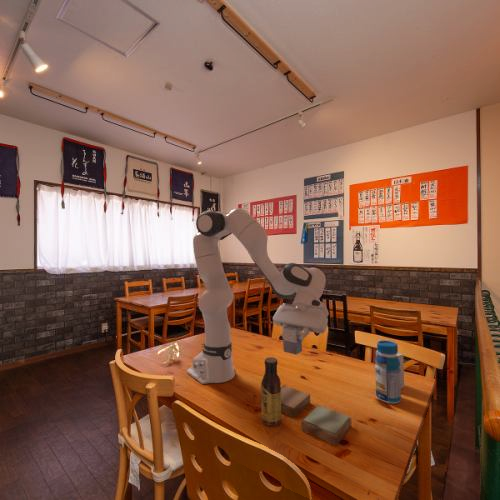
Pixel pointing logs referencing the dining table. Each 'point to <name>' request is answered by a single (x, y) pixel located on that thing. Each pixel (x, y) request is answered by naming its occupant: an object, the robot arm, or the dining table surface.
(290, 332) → the housing
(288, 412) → the stand left
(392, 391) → the beverage bottle
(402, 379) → the small box
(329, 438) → the stand right
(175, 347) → the shrimp
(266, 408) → the sauce bottle
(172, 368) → the dining table surface
